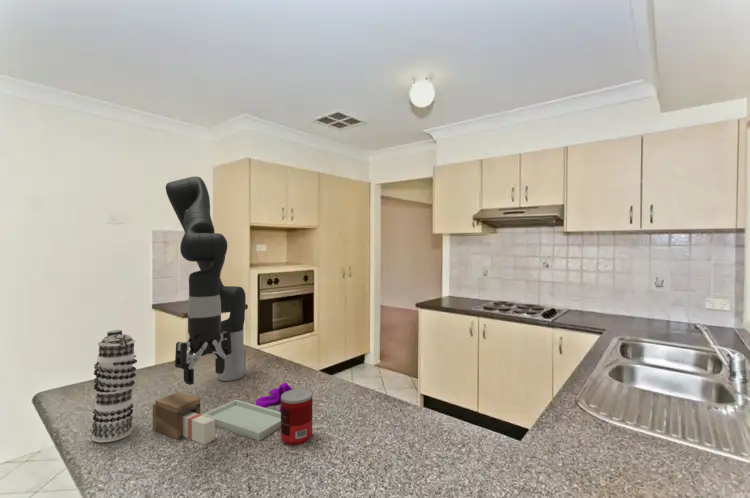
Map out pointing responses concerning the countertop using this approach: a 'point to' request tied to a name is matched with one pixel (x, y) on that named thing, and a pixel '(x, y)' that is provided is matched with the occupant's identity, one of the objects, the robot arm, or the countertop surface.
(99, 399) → the decorative candle
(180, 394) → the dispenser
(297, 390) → the canned food
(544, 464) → the countertop surface
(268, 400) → the cloth
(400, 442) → the countertop surface
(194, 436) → the pink-banded white block
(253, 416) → the tray
